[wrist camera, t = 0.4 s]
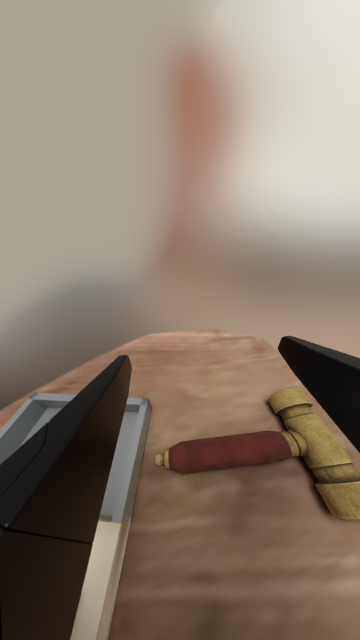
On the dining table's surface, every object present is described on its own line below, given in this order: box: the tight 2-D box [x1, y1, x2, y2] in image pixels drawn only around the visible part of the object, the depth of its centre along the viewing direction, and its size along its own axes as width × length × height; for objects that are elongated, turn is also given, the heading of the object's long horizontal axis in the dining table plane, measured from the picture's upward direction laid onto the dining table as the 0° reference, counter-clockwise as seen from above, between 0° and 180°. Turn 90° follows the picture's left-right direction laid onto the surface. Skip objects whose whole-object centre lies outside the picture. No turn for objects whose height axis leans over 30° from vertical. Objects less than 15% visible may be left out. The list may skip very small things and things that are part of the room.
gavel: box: [155, 388, 360, 522], centre depth 15 cm, size 21×5×10 cm
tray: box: [0, 393, 152, 523], centre depth 15 cm, size 9×16×4 cm, turn 87°
